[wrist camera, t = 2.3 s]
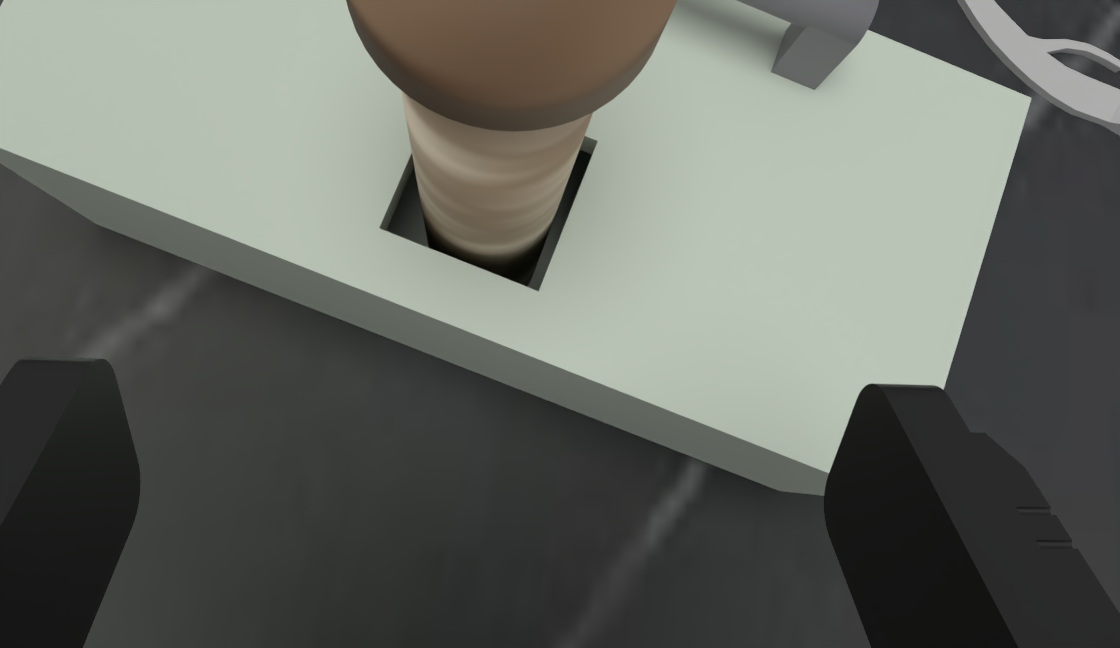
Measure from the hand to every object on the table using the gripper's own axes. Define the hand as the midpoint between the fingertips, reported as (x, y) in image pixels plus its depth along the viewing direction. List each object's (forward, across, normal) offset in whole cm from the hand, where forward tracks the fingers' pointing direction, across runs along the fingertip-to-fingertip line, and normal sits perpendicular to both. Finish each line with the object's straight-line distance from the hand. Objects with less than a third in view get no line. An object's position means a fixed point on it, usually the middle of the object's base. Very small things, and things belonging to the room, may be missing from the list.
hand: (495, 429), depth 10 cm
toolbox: (+20, -1, +8) cm, 21 cm away
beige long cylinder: (+18, 0, +9) cm, 20 cm away
